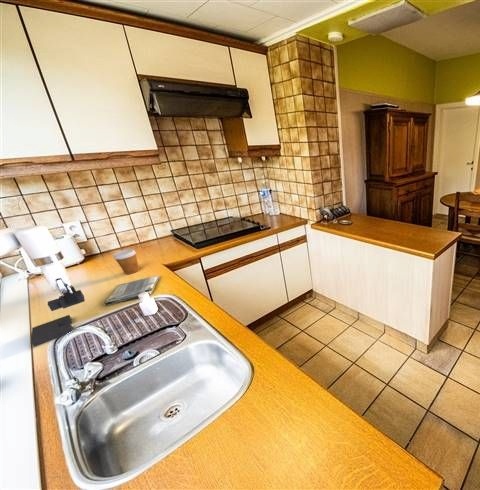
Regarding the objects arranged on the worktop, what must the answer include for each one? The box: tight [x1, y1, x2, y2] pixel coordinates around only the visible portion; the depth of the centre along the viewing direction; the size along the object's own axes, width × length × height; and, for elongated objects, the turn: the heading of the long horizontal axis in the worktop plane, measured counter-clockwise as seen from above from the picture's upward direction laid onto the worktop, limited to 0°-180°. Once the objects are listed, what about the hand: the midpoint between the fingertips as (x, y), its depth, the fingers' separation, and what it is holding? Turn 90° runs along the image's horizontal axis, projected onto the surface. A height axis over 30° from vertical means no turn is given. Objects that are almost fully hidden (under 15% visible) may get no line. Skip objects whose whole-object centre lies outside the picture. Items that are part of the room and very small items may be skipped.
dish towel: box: [103, 275, 160, 307], centre depth 128 cm, size 19×18×3 cm
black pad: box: [47, 289, 86, 312], centre depth 103 cm, size 6×9×3 cm, turn 138°
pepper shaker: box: [138, 292, 159, 317], centre depth 110 cm, size 4×4×10 cm
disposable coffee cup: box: [112, 248, 140, 275], centre depth 146 cm, size 10×10×12 cm
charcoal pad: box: [30, 314, 74, 348], centre depth 102 cm, size 12×10×3 cm
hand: (72, 299), depth 104 cm, fingers closed on black pad, 6 cm apart
